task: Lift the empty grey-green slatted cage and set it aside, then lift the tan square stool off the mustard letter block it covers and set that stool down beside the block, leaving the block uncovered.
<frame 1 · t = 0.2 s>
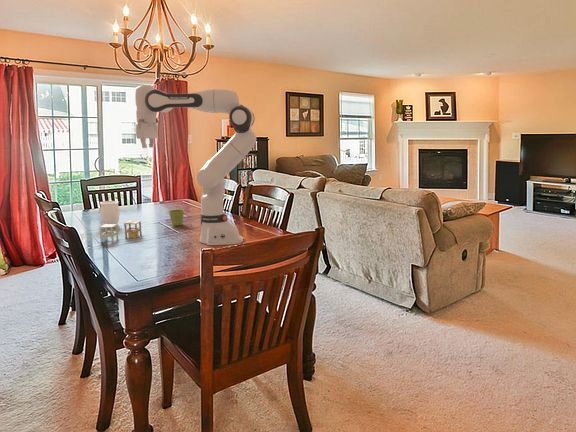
hand: (147, 147, 213), 48 cm above the table, tool pointing down, fingers open, 8 cm apart
plant pot: (177, 225, 259), on the table
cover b: (109, 240, 222), on the table
jar: (111, 227, 255), on the table
letter block: (133, 236, 230), on the table
tan square stool: (133, 236, 230), on the table
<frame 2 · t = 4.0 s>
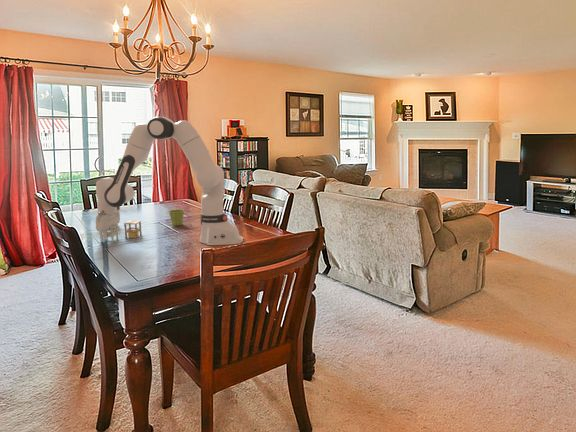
hand: (109, 235, 221), 3 cm above the table, tool pointing down, fingers closed on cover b, 6 cm apart
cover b: (109, 240, 222), on the table, touching gripper
everything else where it was.
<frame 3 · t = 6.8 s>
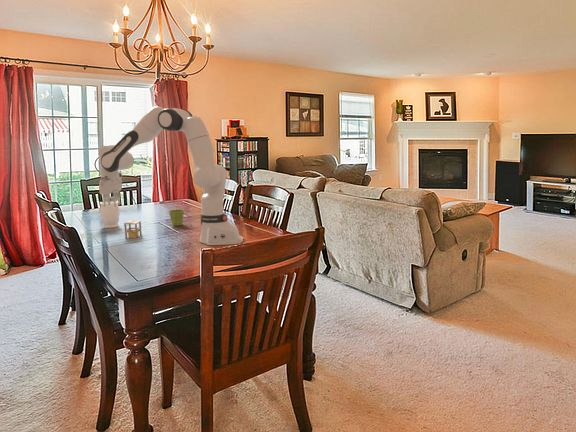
hand: (111, 200, 233), 19 cm above the table, tool pointing down, fingers closed on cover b, 6 cm apart
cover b: (112, 205, 233), point 16 cm above the table, touching gripper
everything else where it was.
when the fingers open (4 cm above the table, at t = 10.0 s): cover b stays where it is, on the table.
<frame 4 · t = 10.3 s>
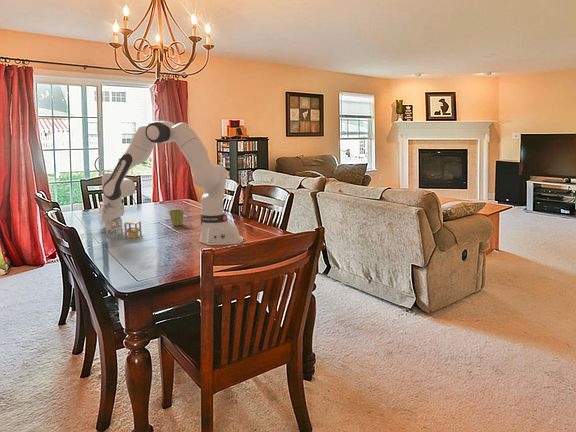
hand: (114, 226, 236), 4 cm above the table, tool pointing down, fingers open, 8 cm apart
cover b: (114, 233, 236), on the table
everything else where it was.
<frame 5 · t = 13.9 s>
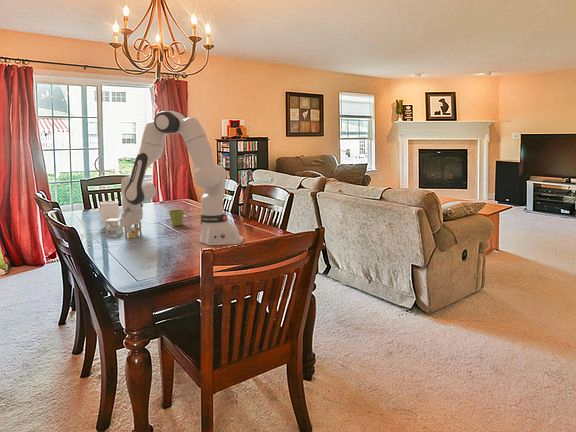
hand: (133, 231, 230), 3 cm above the table, tool pointing down, fingers closed on tan square stool, 6 cm apart
tan square stool: (133, 236, 230), on the table, touching gripper
everything else where it was.
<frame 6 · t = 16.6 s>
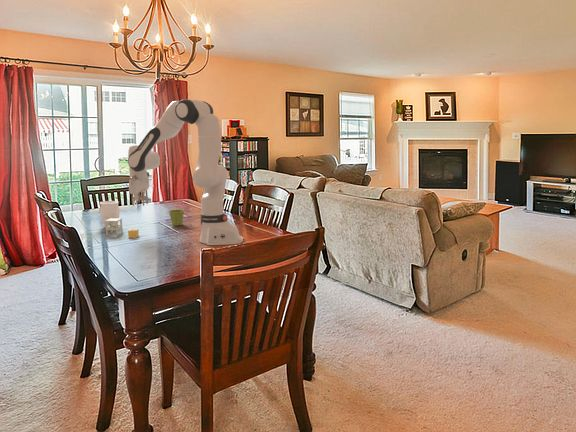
hand: (140, 199, 236), 19 cm above the table, tool pointing down, fingers closed on tan square stool, 6 cm apart
tan square stool: (140, 204, 237), point 16 cm above the table, touching gripper
everything else where it was.
when the fingers open (4 cm above the table, at t = 19.7 s): tan square stool stays where it is, on the table.
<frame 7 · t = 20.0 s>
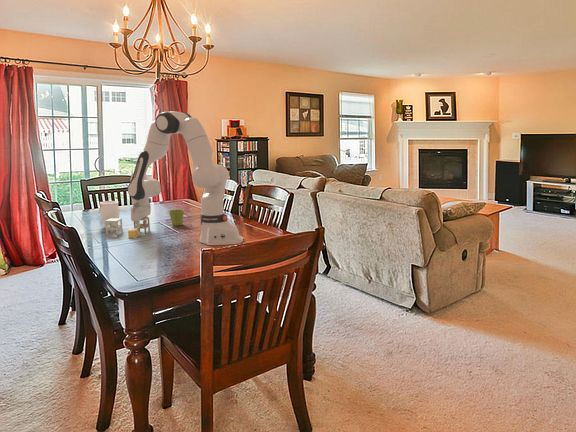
hand: (141, 225, 239), 4 cm above the table, tool pointing down, fingers open, 8 cm apart
tan square stool: (142, 232, 240), on the table
everything else where it was.
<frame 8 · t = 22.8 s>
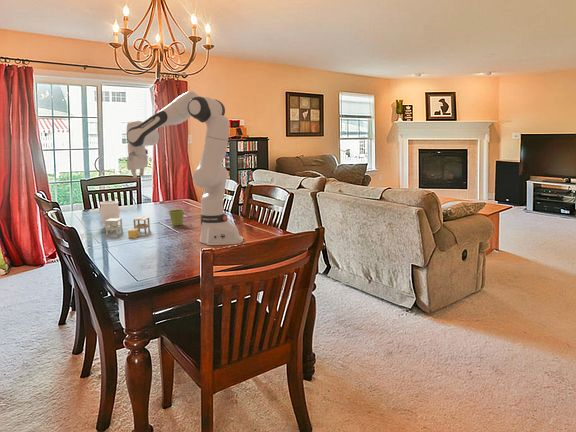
hand: (138, 177, 234), 31 cm above the table, tool pointing down, fingers open, 8 cm apart
nothing on the table moved.
at the end: tan square stool inside the target area (0.0 cm from its centre), on the table; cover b inside the target area (0.0 cm from its centre), on the table; letter block moved 0.1 cm from its start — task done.
